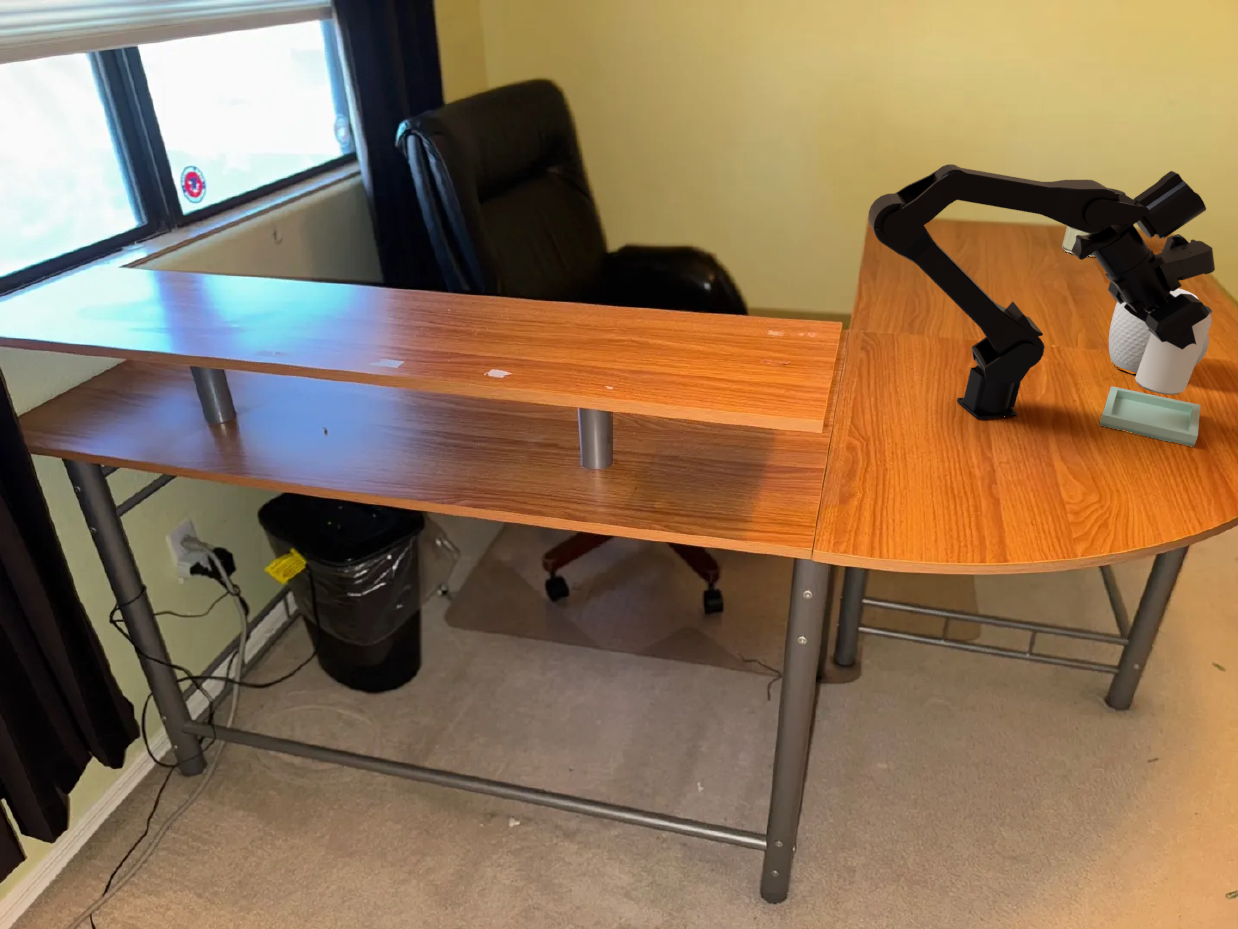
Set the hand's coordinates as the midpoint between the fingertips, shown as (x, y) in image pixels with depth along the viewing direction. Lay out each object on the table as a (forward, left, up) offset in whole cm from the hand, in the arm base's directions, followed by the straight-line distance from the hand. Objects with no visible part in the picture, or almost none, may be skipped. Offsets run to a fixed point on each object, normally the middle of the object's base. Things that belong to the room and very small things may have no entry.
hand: (1184, 343), depth 123 cm
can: (-1, 0, -7) cm, 7 cm away
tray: (-1, 0, -12) cm, 12 cm away
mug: (+11, +17, -12) cm, 24 cm away
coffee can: (+47, +83, -12) cm, 96 cm away
